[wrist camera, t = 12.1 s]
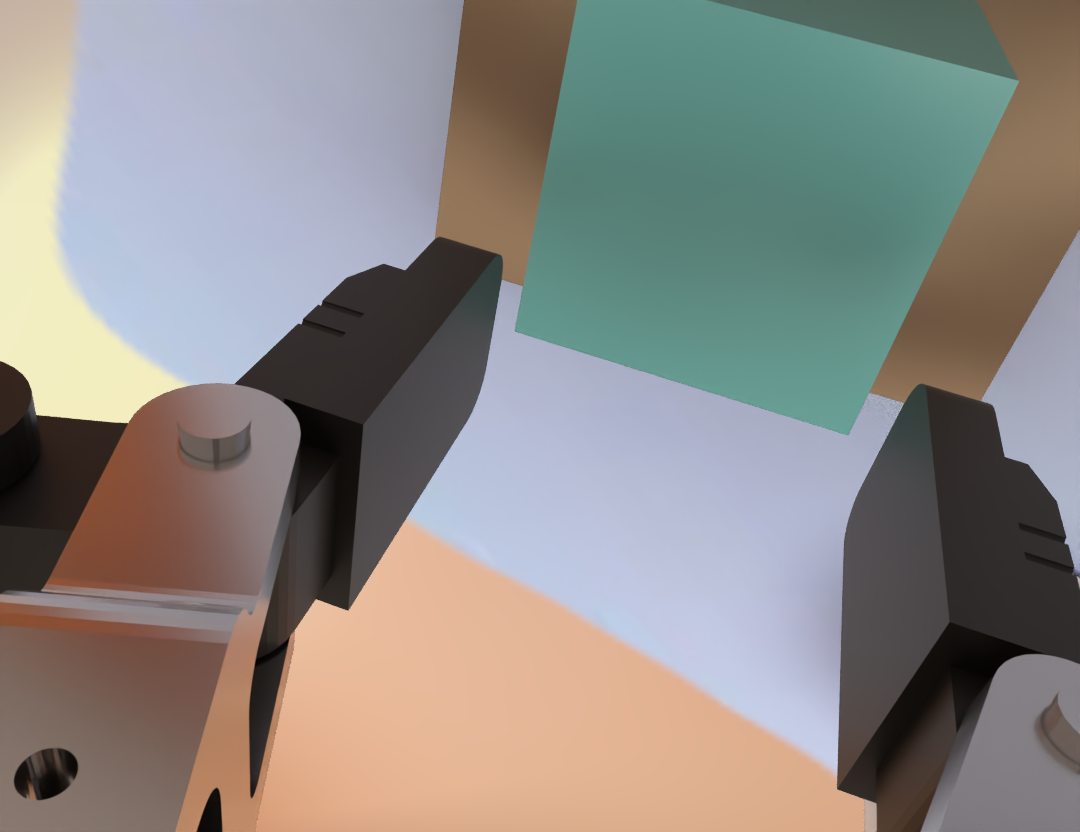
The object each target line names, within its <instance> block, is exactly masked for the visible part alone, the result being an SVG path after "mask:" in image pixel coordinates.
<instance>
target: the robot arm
mask: <svg viewBox="0 0 1080 832" xmlns="http://www.w3.org/2000/svg"><path fill="white" fill-rule="evenodd" d="M502 273H503V258H502V256H501V255H500V254H497V253H493V252H490V251H487V250H483V249H480V248H477V247H474V246H470V245H467V244H464V243H460V242H457V241H454V240H450V239H447V238H444V237H437V238H436V239H435V240H434V241H433V242H432V243H431V244H430V245H429V246H428V247H427V248H426V249H425V250H424V251H423V252H422V253H421V254H420V255H419V257H418V258H417V259H416V260H415V261H414V262H413V263H412V264H411V265H410V266H409V267H408V268H407V269H406V270H402V269H399V268H395V267H392V266H389V265H386V264H382V265H379V266H377V267H374V268H371V269H369V270H366V271H364V272H361V273H358V274H356V275H353V276H350V277H348V278H346V279H345V280H344V281H343V282H342V283H341V284H339V285H338V286H337V287H336V288H335V289H334V290H333V291H332V292H331V293H330V294H329V295H328V296H327V297H326V298H325V299H324V300H323V302H322V305H321V306H320V305H317V306H316V307H315V308H314V309H313V310H312V311H311V312H310V313H309V314H308V315H307V316H306V317H305V318H304V319H303V322H302V324H297V325H296V326H295V327H294V328H293V329H292V330H291V331H290V332H289V333H288V334H287V335H286V336H285V337H284V338H283V339H281V340H280V341H279V342H278V343H277V344H276V345H275V346H274V347H273V348H272V349H271V350H270V351H269V352H268V353H267V354H266V355H265V356H264V357H263V358H261V359H260V360H259V361H258V362H257V363H256V364H255V365H254V366H253V367H252V368H251V369H250V370H249V371H248V372H247V373H246V374H245V375H244V376H242V377H241V378H240V379H239V380H238V381H237V382H236V383H235V384H222V383H215V384H200V385H192V386H187V387H183V388H179V389H175V390H172V391H170V392H167V393H164V394H162V395H160V396H158V397H156V398H154V399H152V400H151V401H149V402H148V403H146V404H145V405H144V406H142V407H141V408H140V409H139V410H138V411H137V412H136V413H135V414H134V415H133V417H132V418H131V420H130V421H129V423H112V422H102V421H92V420H81V419H71V418H61V417H50V416H39V415H36V412H35V407H34V402H33V397H32V391H31V388H30V385H29V383H28V381H27V379H26V378H25V377H24V376H23V374H21V373H20V372H19V371H18V370H16V369H15V368H14V367H12V366H10V365H8V364H6V363H4V362H1V361H0V832H255V831H256V825H257V820H258V814H259V809H260V805H261V800H262V795H263V791H264V786H265V781H266V776H267V771H268V767H269V762H270V758H271V753H272V748H273V743H274V739H275V734H276V730H277V725H278V720H279V715H280V711H281V706H282V701H283V697H284V692H285V687H286V683H287V678H288V673H289V668H290V664H291V659H292V655H293V649H294V636H295V629H296V627H297V626H298V624H299V623H300V621H301V620H302V619H303V617H304V616H305V614H306V613H307V611H308V610H309V608H310V607H311V605H312V603H313V602H314V601H315V599H317V600H320V601H323V602H326V603H329V604H331V605H334V606H337V607H339V608H342V609H345V610H349V609H350V607H351V606H352V604H353V602H354V601H355V599H356V598H357V596H358V594H359V593H360V591H361V590H362V588H363V586H364V585H365V583H366V582H367V580H368V578H369V577H370V575H371V574H372V572H373V570H374V569H375V567H376V566H377V564H378V562H379V561H380V559H381V558H382V556H383V554H384V553H385V551H386V550H387V548H388V547H389V545H390V543H391V542H392V540H393V538H394V536H395V535H396V534H397V532H398V531H399V529H400V527H401V526H402V524H403V523H404V521H405V519H406V518H407V516H408V515H409V513H410V511H411V510H412V508H413V507H414V505H415V503H416V502H417V500H418V499H419V497H420V495H421V494H422V492H423V491H424V489H425V487H426V486H427V484H428V483H429V481H430V480H431V478H432V476H433V475H434V473H435V472H436V470H437V468H438V467H439V465H440V464H441V462H442V460H443V459H444V457H445V456H446V454H447V452H448V451H449V449H450V448H451V446H452V444H453V443H454V441H455V440H456V438H457V436H458V435H459V433H460V432H461V430H462V428H463V427H464V425H465V424H466V422H467V420H468V419H469V417H470V415H471V413H472V411H473V408H474V406H475V404H476V401H477V399H478V396H479V393H480V390H481V387H482V383H483V379H484V375H485V371H486V366H487V360H488V354H489V349H490V343H491V337H492V331H493V326H494V320H495V314H496V308H497V303H498V297H499V291H500V286H501V280H502ZM1065 539H1066V535H1065V531H1064V527H1063V523H1062V520H1061V516H1060V512H1059V508H1058V505H1057V501H1056V500H1055V499H1054V497H1053V496H1052V495H1051V494H1050V492H1049V491H1048V490H1047V488H1046V487H1045V486H1044V484H1043V483H1042V482H1041V481H1040V479H1039V478H1038V477H1037V475H1036V474H1035V473H1034V471H1033V470H1032V469H1031V468H1030V466H1029V465H1028V464H1025V463H1022V462H1019V461H1016V460H1012V459H1009V458H1006V457H1004V452H1003V447H1002V442H1001V437H1000V433H999V428H998V423H997V418H996V413H995V410H994V407H993V406H992V405H991V404H988V403H985V402H982V401H978V400H975V399H972V398H969V397H965V396H962V395H959V394H955V393H952V392H949V391H945V390H942V389H939V388H936V387H932V386H929V385H926V384H919V385H917V386H916V387H915V388H914V389H913V391H912V392H911V393H910V395H909V396H908V398H907V400H906V401H905V403H904V405H903V407H902V409H901V411H900V413H899V415H898V417H897V419H896V421H895V423H894V424H893V426H892V428H891V430H890V432H889V434H888V436H887V438H886V440H885V442H884V444H883V446H882V448H881V450H880V451H879V453H878V455H877V457H876V459H875V461H874V463H873V465H872V467H871V469H870V471H869V473H868V475H867V477H866V479H865V480H864V482H863V484H862V486H861V488H860V490H859V492H858V495H857V497H856V499H855V502H854V505H853V507H852V510H851V513H850V517H849V520H848V524H847V528H846V533H845V540H844V561H843V597H842V632H841V668H840V704H839V739H838V775H837V789H838V790H841V791H843V792H846V793H849V794H852V795H855V796H858V797H860V798H863V799H866V800H868V801H871V802H874V803H876V808H877V830H876V831H875V832H1080V587H1079V583H1078V579H1077V576H1076V575H1073V574H1072V572H1073V569H1074V564H1073V561H1072V557H1071V553H1070V549H1069V546H1068V545H1067V544H1064V542H1065Z"/></svg>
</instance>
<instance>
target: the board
mask: <svg viewBox="0 0 1080 832" xmlns="http://www.w3.org/2000/svg"><path fill="white" fill-rule="evenodd" d="M977 1H978V3H979V5H980V7H981V9H982V11H983V13H984V14H985V16H986V18H987V20H988V22H989V24H990V26H991V28H992V30H993V32H994V34H995V36H996V37H997V39H998V41H999V43H1000V45H1001V47H1002V49H1003V51H1004V53H1005V55H1006V57H1007V59H1008V60H1009V62H1010V64H1011V66H1012V68H1013V70H1014V72H1015V74H1016V76H1017V78H1018V80H1019V83H1018V85H1017V87H1016V89H1015V91H1014V93H1013V95H1012V97H1011V99H1010V101H1009V103H1008V105H1007V107H1006V110H1005V112H1004V114H1003V116H1002V118H1001V120H1000V122H999V124H998V126H997V128H996V130H995V132H994V134H993V136H992V139H991V141H990V143H989V145H988V147H987V149H986V151H985V153H984V155H983V157H982V159H981V161H980V163H979V166H978V168H977V170H976V172H975V174H974V176H973V178H972V180H971V182H970V184H969V186H968V188H967V190H966V192H965V195H964V197H963V199H962V201H961V203H960V205H959V207H958V209H957V211H956V213H955V215H954V217H953V219H952V221H951V224H950V226H949V228H948V230H947V232H946V234H945V236H944V238H943V240H942V242H941V244H940V246H939V248H938V251H937V253H936V255H935V257H934V259H933V261H932V263H931V265H930V267H929V269H928V271H927V273H926V275H925V277H924V280H923V282H922V284H921V286H920V288H919V290H918V292H917V294H916V296H915V298H914V300H913V302H912V304H911V306H910V309H909V311H908V313H907V315H906V317H905V319H904V321H903V323H902V325H901V327H900V329H899V331H898V333H897V336H896V338H895V340H894V342H893V344H892V346H891V348H890V350H889V352H888V354H887V356H886V358H885V360H884V362H883V365H882V367H881V369H880V371H879V373H878V375H877V377H876V379H875V381H874V383H873V385H872V387H871V389H870V391H869V392H870V393H874V394H877V395H880V396H883V397H887V398H890V399H893V400H896V401H900V402H903V403H905V401H906V400H907V398H908V396H909V395H910V393H911V392H912V391H913V389H914V388H915V387H916V386H917V385H919V384H926V385H929V386H932V387H936V388H939V389H942V390H945V391H949V392H952V393H955V394H959V395H962V396H965V397H969V398H972V399H975V400H978V401H981V399H982V397H983V395H984V394H985V392H986V390H987V388H988V387H989V385H990V383H991V382H992V380H993V378H994V376H995V375H996V373H997V371H998V369H999V368H1000V366H1001V364H1002V362H1003V361H1004V359H1005V357H1006V356H1007V354H1008V352H1009V350H1010V349H1011V347H1012V345H1013V343H1014V342H1015V340H1016V338H1017V337H1018V335H1019V333H1020V331H1021V330H1022V328H1023V326H1024V324H1025V323H1026V321H1027V319H1028V317H1029V316H1030V314H1031V312H1032V311H1033V309H1034V307H1035V305H1036V304H1037V302H1038V300H1039V298H1040V297H1041V295H1042V293H1043V291H1044V290H1045V288H1046V286H1047V285H1048V283H1049V281H1050V279H1051V278H1052V276H1053V274H1054V272H1055V271H1056V269H1057V267H1058V265H1059V264H1060V262H1061V260H1062V259H1063V257H1064V255H1065V253H1066V252H1067V250H1068V248H1069V246H1070V245H1071V243H1072V241H1073V239H1074V238H1075V236H1076V234H1077V233H1078V231H1079V229H1080V0H977ZM576 5H577V0H464V6H463V14H462V22H461V30H460V38H459V47H458V55H457V63H456V71H455V79H454V88H453V96H452V104H451V112H450V120H449V129H448V137H447V145H446V153H445V161H444V170H443V178H442V186H441V194H440V202H439V211H438V219H437V227H436V235H435V239H436V238H437V237H444V238H447V239H450V240H454V241H457V242H460V243H464V244H467V245H470V246H474V247H477V248H480V249H483V250H487V251H490V252H493V253H497V254H500V255H501V256H502V258H503V273H502V280H505V281H508V282H511V283H515V284H518V285H521V286H523V285H524V279H525V274H526V269H527V264H528V258H529V253H530V248H531V243H532V237H533V232H534V227H535V221H536V216H537V211H538V206H539V200H540V195H541V190H542V185H543V179H544V174H545V169H546V164H547V158H548V153H549V148H550V142H551V137H552V132H553V127H554V121H555V116H556V111H557V106H558V100H559V95H560V90H561V84H562V79H563V74H564V69H565V63H566V58H567V53H568V48H569V42H570V37H571V32H572V26H573V21H574V16H575V11H576Z"/></svg>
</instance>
